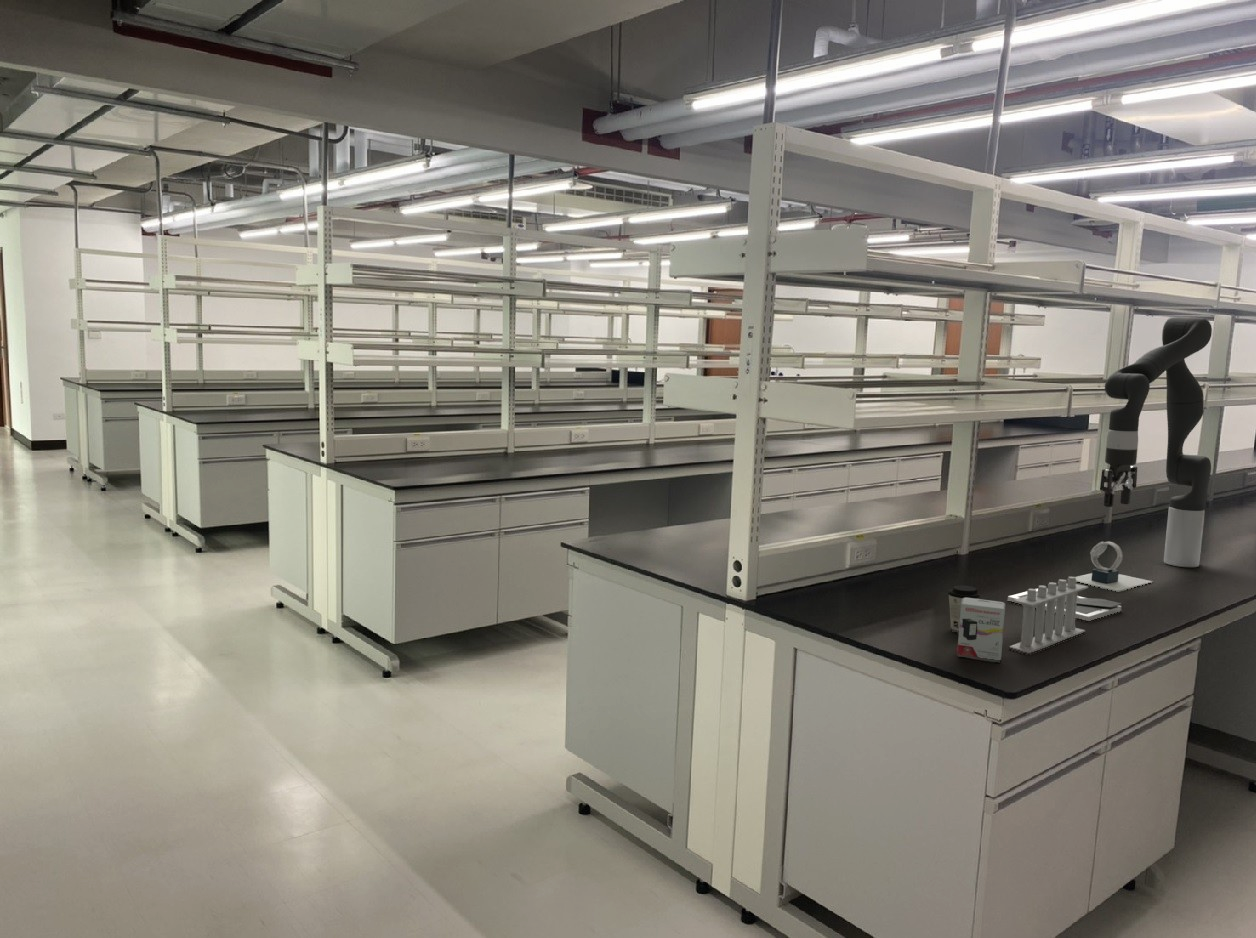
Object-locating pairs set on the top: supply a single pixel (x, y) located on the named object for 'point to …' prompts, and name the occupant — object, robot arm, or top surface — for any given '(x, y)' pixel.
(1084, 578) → the mat
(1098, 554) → the watch
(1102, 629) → the top surface
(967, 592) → the coffee cup
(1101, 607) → the picture frame
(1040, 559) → the top surface
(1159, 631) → the top surface
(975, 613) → the ink box
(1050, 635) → the test tube rack
